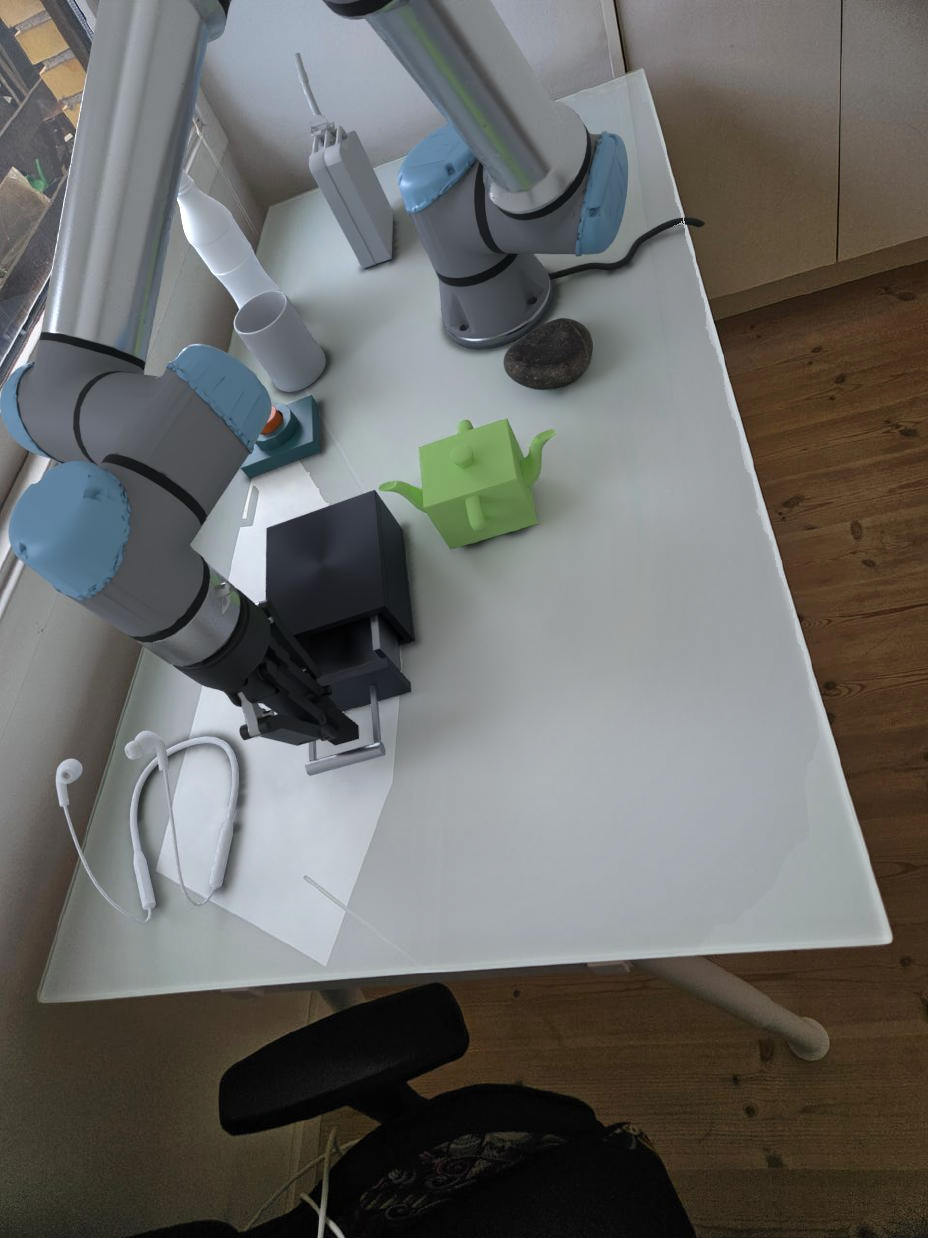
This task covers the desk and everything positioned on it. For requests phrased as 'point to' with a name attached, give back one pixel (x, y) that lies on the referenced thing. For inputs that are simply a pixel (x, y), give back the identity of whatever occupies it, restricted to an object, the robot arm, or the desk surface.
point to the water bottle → (221, 243)
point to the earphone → (144, 746)
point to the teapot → (476, 482)
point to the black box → (339, 568)
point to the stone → (550, 355)
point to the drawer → (356, 678)
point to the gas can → (349, 184)
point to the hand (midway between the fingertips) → (346, 735)
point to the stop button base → (287, 438)
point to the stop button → (272, 422)
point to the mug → (280, 341)
